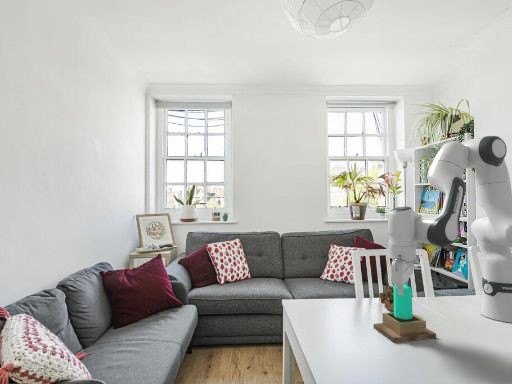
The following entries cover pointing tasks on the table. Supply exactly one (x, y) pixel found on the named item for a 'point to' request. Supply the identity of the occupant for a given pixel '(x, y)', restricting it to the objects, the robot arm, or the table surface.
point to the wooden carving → (388, 298)
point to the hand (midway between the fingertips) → (402, 292)
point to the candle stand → (403, 328)
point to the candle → (403, 303)
